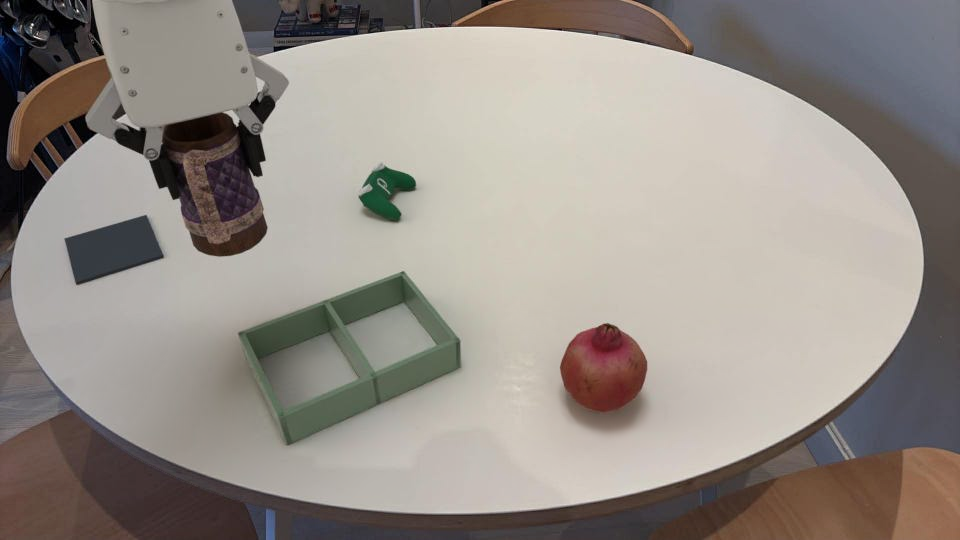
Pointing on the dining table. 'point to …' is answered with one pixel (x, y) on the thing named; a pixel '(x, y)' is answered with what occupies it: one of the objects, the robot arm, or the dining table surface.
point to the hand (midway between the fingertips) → (214, 178)
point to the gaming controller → (384, 190)
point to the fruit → (603, 368)
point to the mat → (112, 249)
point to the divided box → (351, 353)
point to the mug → (215, 185)
